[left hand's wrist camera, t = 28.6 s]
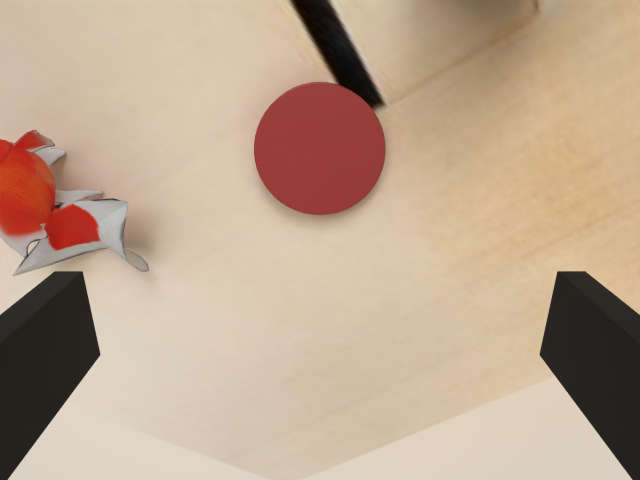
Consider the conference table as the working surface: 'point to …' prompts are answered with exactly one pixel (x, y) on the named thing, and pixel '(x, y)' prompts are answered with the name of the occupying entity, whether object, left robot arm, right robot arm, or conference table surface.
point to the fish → (53, 209)
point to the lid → (319, 148)
